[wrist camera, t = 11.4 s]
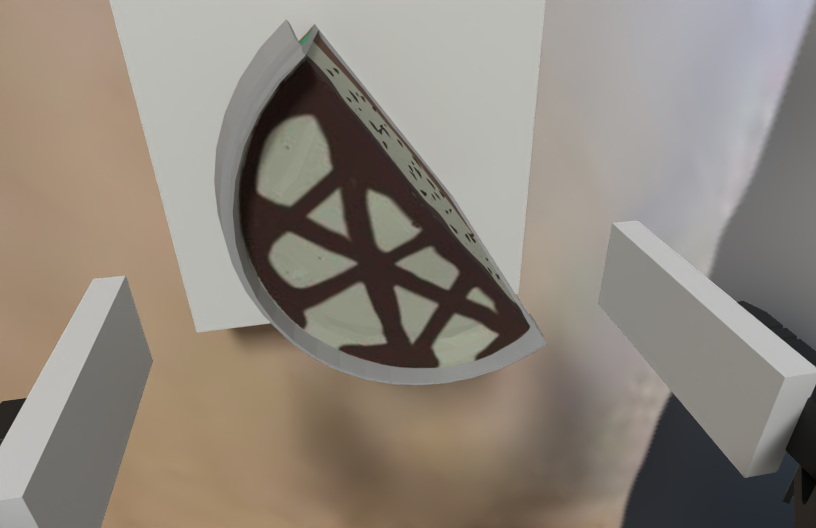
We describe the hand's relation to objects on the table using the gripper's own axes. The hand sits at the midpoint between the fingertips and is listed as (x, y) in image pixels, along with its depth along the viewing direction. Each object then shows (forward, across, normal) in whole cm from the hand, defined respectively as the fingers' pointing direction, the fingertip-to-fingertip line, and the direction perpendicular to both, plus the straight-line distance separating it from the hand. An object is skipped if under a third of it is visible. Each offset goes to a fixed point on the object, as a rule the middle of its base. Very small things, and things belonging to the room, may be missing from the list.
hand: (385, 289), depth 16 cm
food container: (+10, +1, 0) cm, 10 cm away
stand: (+14, 0, 0) cm, 14 cm away
